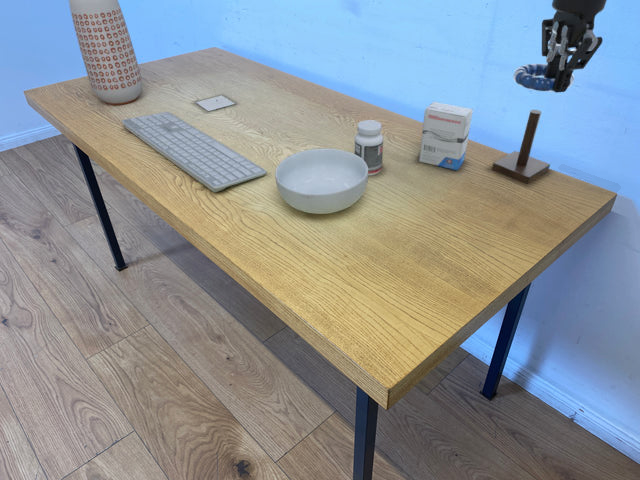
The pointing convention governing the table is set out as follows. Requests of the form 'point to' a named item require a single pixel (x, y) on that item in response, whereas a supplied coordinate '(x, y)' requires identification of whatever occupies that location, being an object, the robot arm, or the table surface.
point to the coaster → (215, 103)
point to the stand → (523, 156)
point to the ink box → (445, 135)
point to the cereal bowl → (322, 180)
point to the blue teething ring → (528, 78)
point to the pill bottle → (370, 145)
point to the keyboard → (193, 150)
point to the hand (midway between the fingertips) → (553, 87)
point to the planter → (106, 50)
